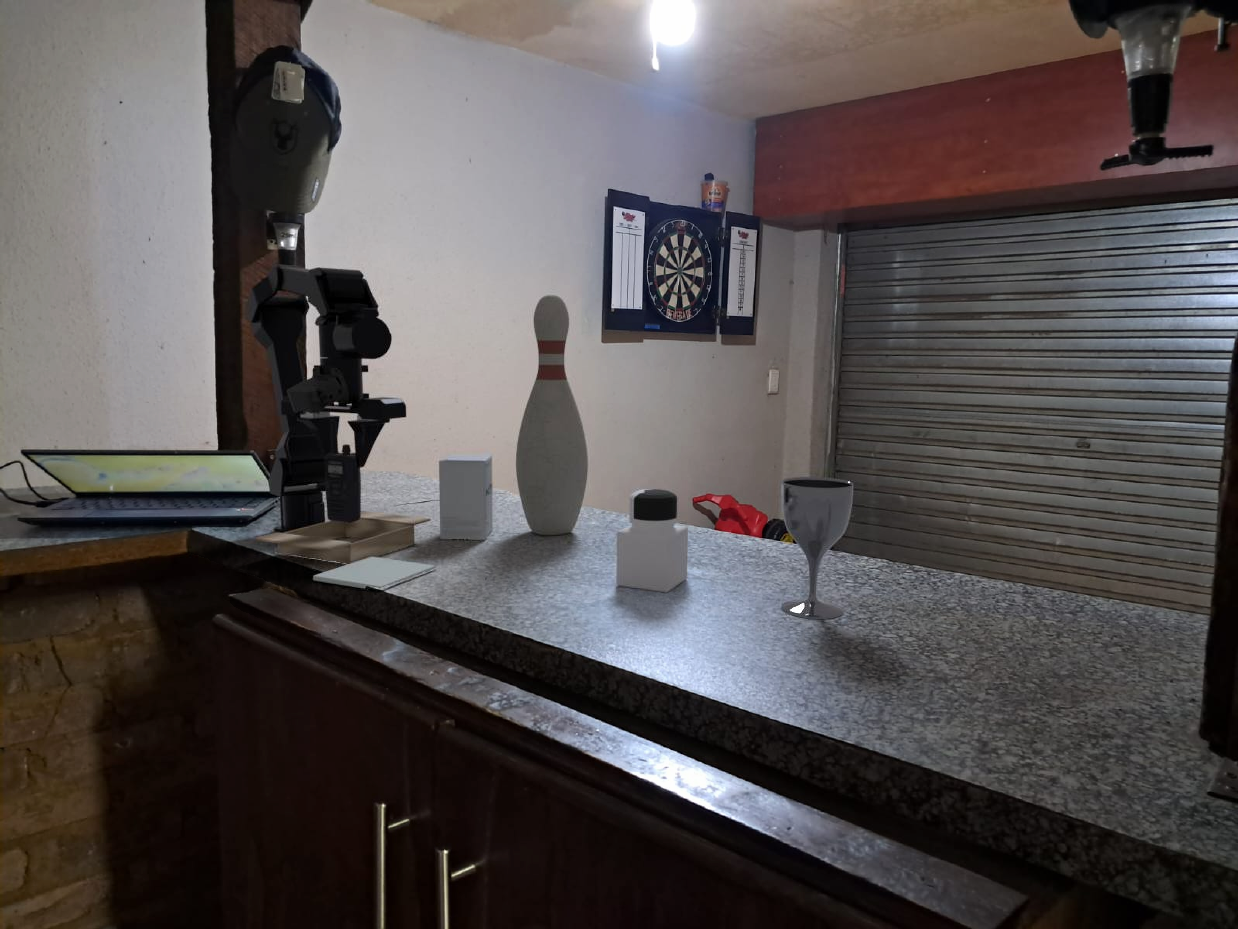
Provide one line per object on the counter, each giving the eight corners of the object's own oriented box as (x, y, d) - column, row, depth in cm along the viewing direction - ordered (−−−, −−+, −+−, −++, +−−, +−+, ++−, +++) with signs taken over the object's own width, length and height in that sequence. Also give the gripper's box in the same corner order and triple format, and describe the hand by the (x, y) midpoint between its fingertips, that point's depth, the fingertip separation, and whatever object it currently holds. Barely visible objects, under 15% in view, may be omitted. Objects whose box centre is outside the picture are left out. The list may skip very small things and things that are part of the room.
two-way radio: (321, 521, 123) (317, 418, 120) (343, 515, 127) (339, 416, 124) (351, 524, 120) (347, 420, 118) (372, 518, 124) (368, 417, 122)
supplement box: (486, 540, 131) (485, 460, 129) (439, 540, 131) (437, 459, 129) (494, 530, 138) (493, 454, 136) (449, 529, 138) (447, 453, 136)
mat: (313, 580, 108) (313, 575, 108) (371, 560, 118) (371, 556, 118) (380, 591, 103) (380, 586, 103) (435, 570, 113) (435, 565, 113)
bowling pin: (534, 543, 129) (533, 291, 124) (506, 528, 139) (504, 295, 134) (598, 535, 135) (599, 294, 129) (567, 522, 145) (567, 297, 139)
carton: (255, 561, 117) (254, 537, 117) (362, 530, 137) (362, 510, 136) (330, 572, 112) (329, 548, 111) (430, 539, 131) (430, 518, 131)
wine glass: (807, 624, 92) (813, 490, 90) (763, 604, 99) (767, 479, 97) (862, 614, 96) (868, 485, 94) (815, 595, 103) (821, 475, 101)
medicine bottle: (687, 579, 110) (689, 489, 108) (667, 593, 104) (669, 497, 102) (637, 572, 113) (638, 484, 111) (615, 586, 107) (616, 493, 105)
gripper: (247, 357, 117) (253, 468, 119) (352, 359, 109) (356, 478, 111) (307, 357, 127) (312, 459, 129) (407, 358, 119) (410, 467, 121)
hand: (345, 465), depth 122 cm, fingers closed on two-way radio, 5 cm apart
